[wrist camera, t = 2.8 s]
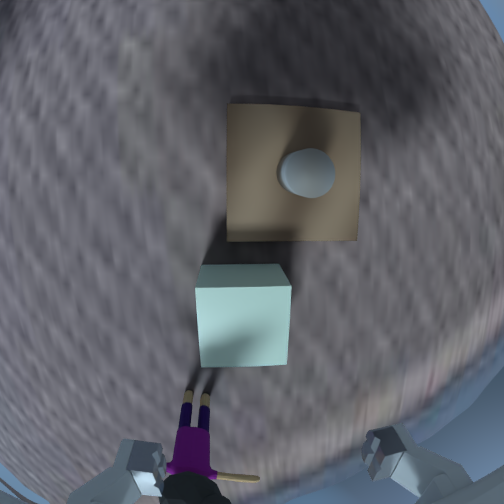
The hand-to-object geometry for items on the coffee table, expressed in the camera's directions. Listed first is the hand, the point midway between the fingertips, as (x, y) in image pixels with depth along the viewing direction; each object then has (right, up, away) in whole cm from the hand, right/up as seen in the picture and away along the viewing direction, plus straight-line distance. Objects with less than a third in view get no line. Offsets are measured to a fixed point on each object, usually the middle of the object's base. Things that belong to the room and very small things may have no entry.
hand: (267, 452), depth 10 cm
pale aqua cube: (-2, +4, +15) cm, 15 cm away
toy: (-6, -5, +17) cm, 18 cm away
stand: (+3, +14, +13) cm, 19 cm away
